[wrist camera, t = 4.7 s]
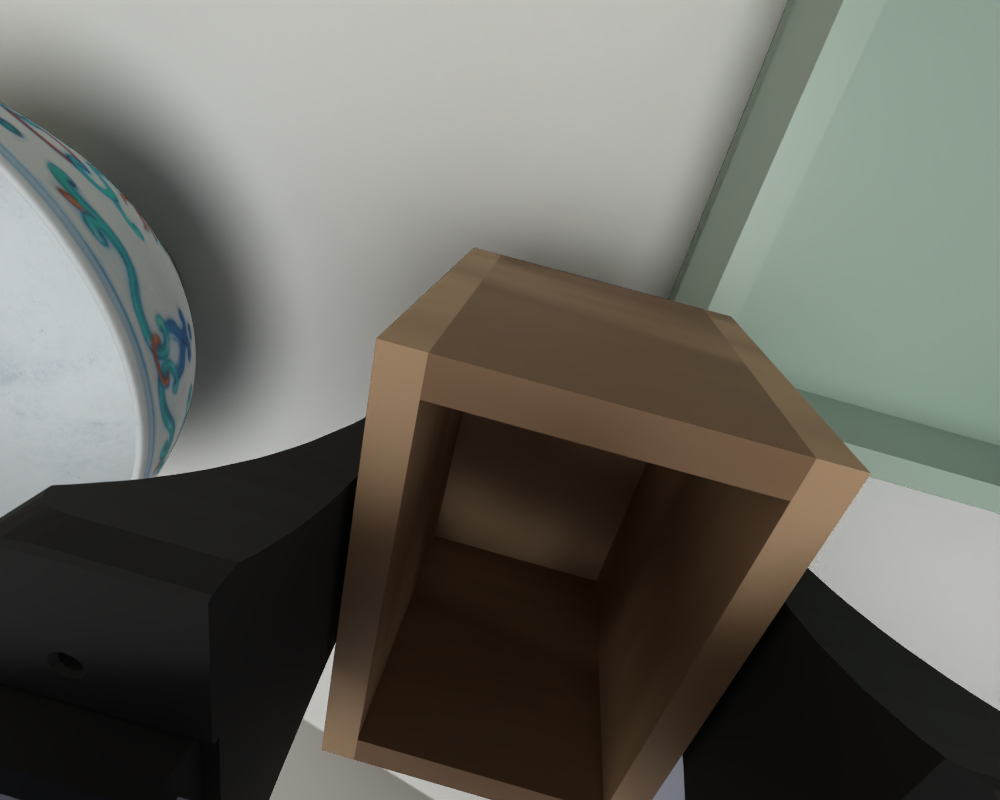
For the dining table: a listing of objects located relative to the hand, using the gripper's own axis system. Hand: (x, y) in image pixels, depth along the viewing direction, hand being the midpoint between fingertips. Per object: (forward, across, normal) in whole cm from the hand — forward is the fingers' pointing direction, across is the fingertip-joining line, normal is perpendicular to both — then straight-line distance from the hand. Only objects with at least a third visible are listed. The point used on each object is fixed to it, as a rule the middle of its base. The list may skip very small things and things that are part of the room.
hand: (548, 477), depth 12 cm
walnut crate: (+2, 0, 0) cm, 2 cm away
